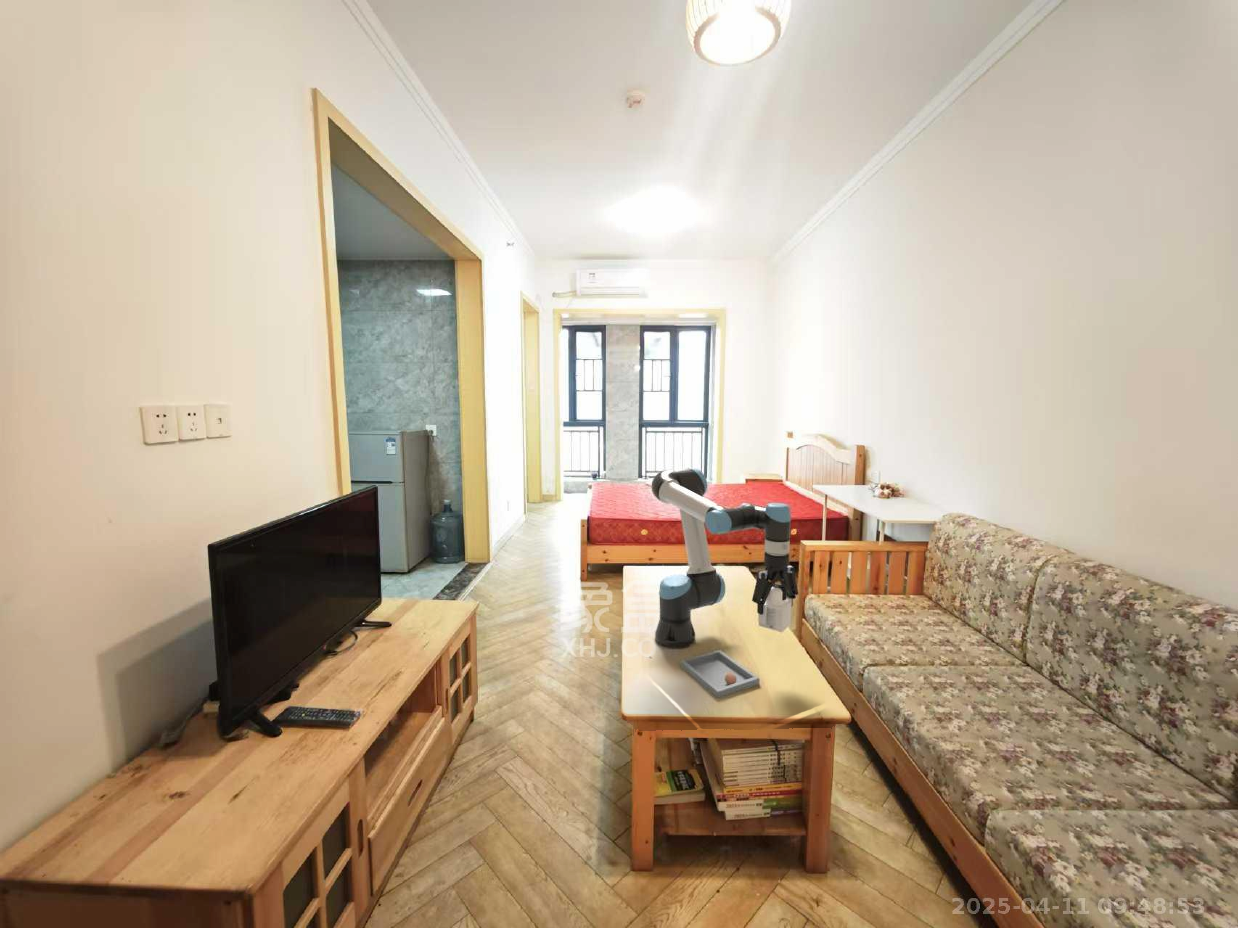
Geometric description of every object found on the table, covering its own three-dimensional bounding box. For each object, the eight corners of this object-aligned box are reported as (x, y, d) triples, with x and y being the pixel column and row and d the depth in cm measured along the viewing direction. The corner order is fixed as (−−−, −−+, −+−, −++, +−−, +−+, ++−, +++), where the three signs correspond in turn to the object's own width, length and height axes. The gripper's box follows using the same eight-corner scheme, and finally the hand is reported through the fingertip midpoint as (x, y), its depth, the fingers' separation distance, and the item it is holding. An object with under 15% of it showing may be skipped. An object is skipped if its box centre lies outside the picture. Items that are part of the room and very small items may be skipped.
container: (768, 617, 158) (769, 580, 157) (791, 624, 153) (792, 585, 152) (758, 626, 152) (759, 586, 151) (782, 633, 147) (783, 592, 146)
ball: (722, 682, 149) (722, 672, 148) (731, 680, 150) (731, 669, 150) (729, 688, 145) (729, 677, 145) (738, 685, 147) (738, 674, 147)
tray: (680, 669, 159) (680, 660, 158) (719, 657, 166) (719, 649, 165) (717, 701, 141) (717, 691, 141) (759, 687, 148) (759, 677, 147)
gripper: (757, 561, 142) (755, 632, 144) (812, 550, 152) (809, 617, 154) (740, 554, 149) (739, 622, 151) (794, 544, 158) (791, 608, 161)
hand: (774, 619), depth 153 cm, fingers closed on container, 10 cm apart
